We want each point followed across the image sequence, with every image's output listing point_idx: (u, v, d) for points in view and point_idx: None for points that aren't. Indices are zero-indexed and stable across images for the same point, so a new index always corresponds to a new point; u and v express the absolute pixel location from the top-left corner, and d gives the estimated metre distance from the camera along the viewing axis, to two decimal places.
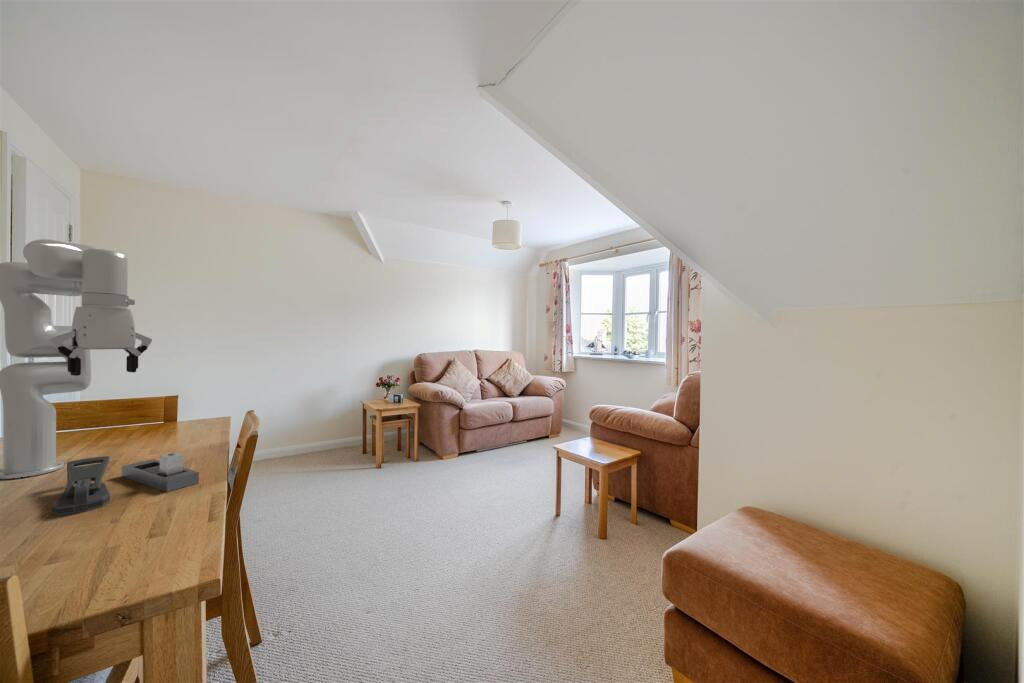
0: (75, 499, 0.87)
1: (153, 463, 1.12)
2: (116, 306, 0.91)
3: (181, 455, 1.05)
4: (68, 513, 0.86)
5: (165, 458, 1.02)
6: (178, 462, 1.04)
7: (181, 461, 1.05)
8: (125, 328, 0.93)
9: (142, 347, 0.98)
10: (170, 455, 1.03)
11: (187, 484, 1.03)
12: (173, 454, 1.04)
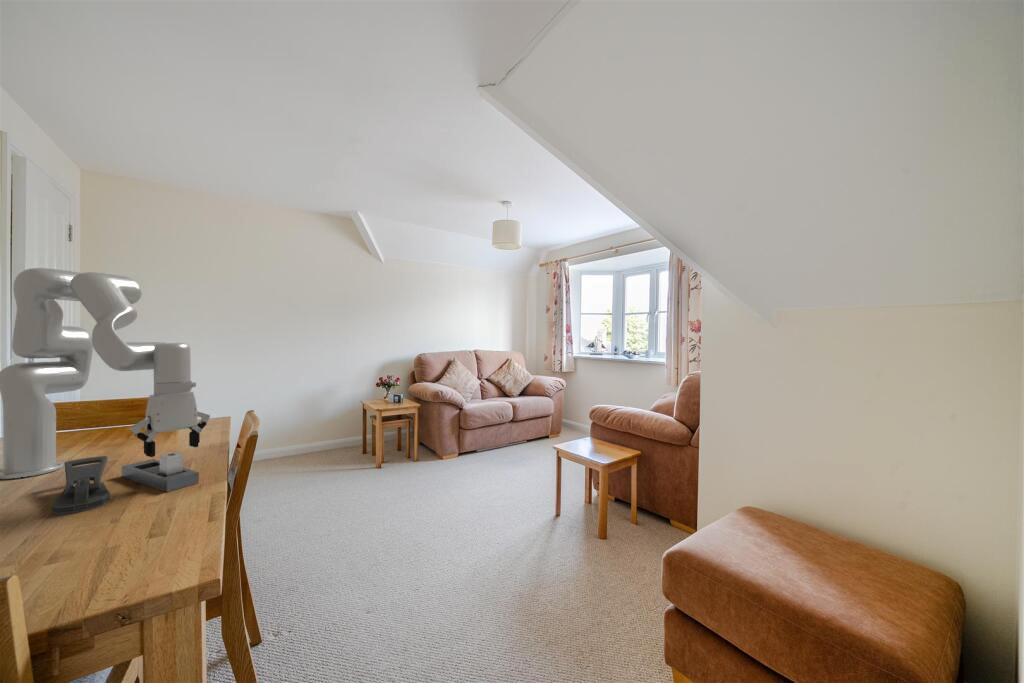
0: (75, 498, 0.87)
1: (153, 463, 1.12)
2: (183, 392, 1.03)
3: (181, 455, 1.05)
4: (68, 512, 0.86)
5: (165, 458, 1.02)
6: (178, 462, 1.04)
7: (181, 461, 1.05)
8: (189, 410, 1.06)
9: (202, 423, 1.10)
10: (170, 455, 1.03)
11: (187, 484, 1.03)
12: (173, 454, 1.04)
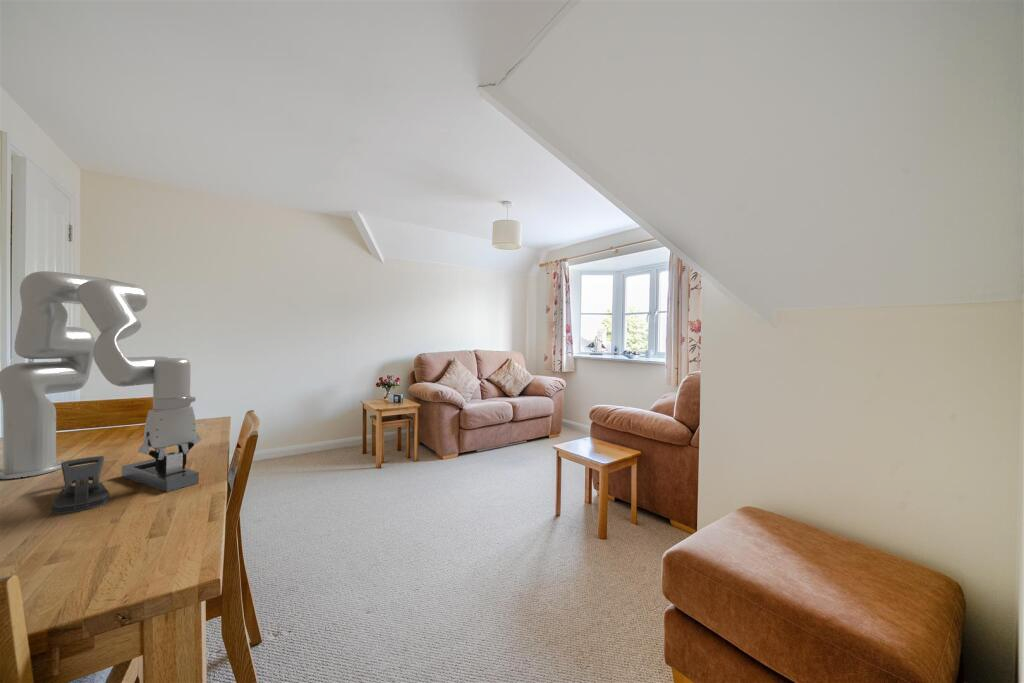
0: (76, 498, 0.87)
1: (153, 463, 1.12)
2: (182, 408, 1.03)
3: (181, 454, 1.05)
4: (69, 512, 0.87)
5: (165, 457, 1.02)
6: (178, 461, 1.04)
7: (181, 460, 1.05)
8: (188, 425, 1.06)
9: (189, 445, 1.07)
10: (170, 454, 1.03)
11: (187, 484, 1.03)
12: (173, 453, 1.04)
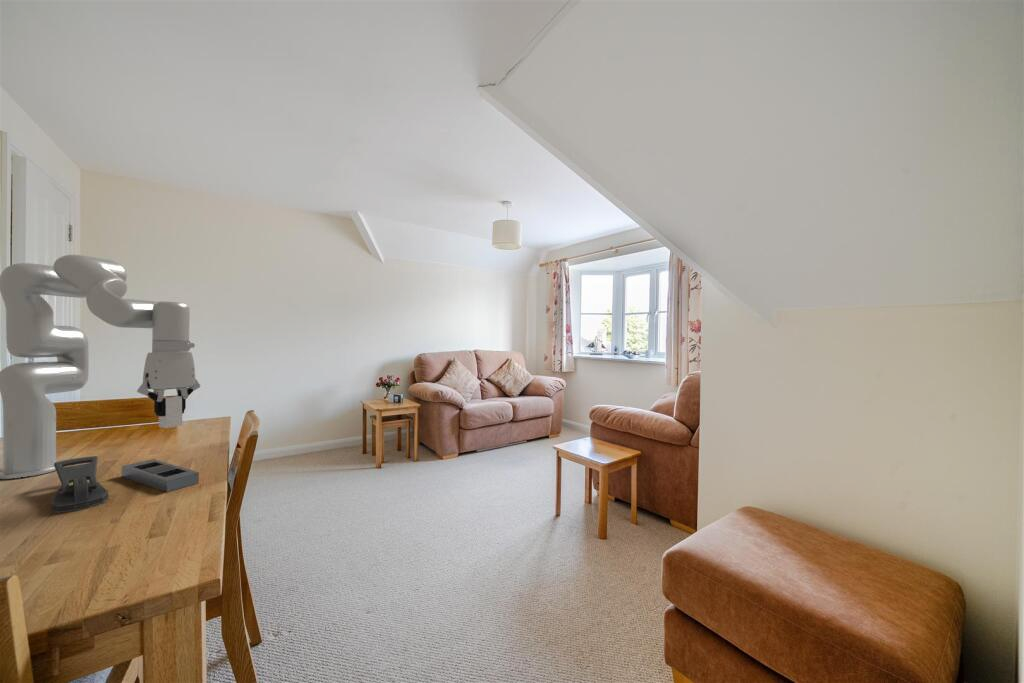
0: (76, 496, 0.88)
1: (153, 463, 1.12)
2: (181, 351, 1.03)
3: (180, 397, 1.05)
4: (69, 510, 0.87)
5: (164, 399, 1.02)
6: (177, 404, 1.04)
7: (180, 403, 1.05)
8: (187, 369, 1.06)
9: (189, 390, 1.08)
10: (169, 397, 1.04)
11: (187, 484, 1.03)
12: (172, 396, 1.04)
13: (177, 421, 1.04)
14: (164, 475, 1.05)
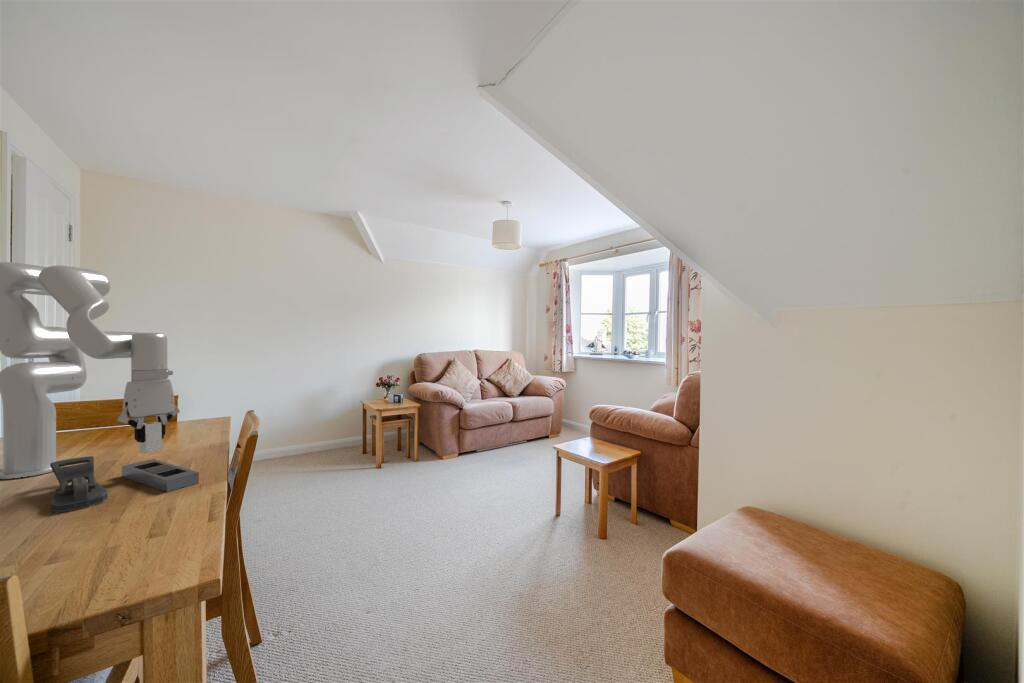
0: (76, 496, 0.88)
1: (153, 463, 1.12)
2: (159, 379, 1.08)
3: (159, 423, 1.10)
4: (69, 510, 0.87)
5: (144, 426, 1.07)
6: (157, 430, 1.09)
7: (160, 429, 1.10)
8: (166, 396, 1.11)
9: (168, 416, 1.12)
10: (149, 423, 1.08)
11: (187, 484, 1.03)
12: (152, 422, 1.09)
13: (157, 446, 1.09)
14: (164, 475, 1.05)
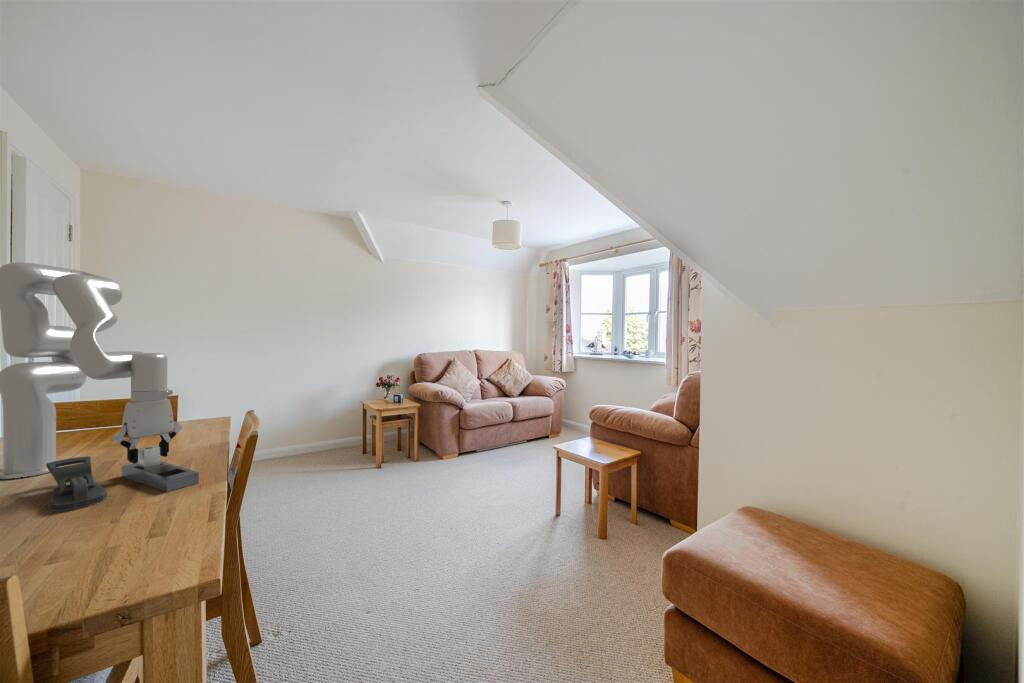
0: (76, 495, 0.89)
1: None
2: (159, 400, 1.08)
3: (158, 448, 1.10)
4: (69, 509, 0.88)
5: (142, 451, 1.07)
6: (155, 455, 1.09)
7: (158, 454, 1.10)
8: (165, 416, 1.11)
9: (172, 433, 1.14)
10: (147, 448, 1.08)
11: (187, 484, 1.03)
12: (150, 447, 1.09)
13: None
14: (164, 475, 1.05)
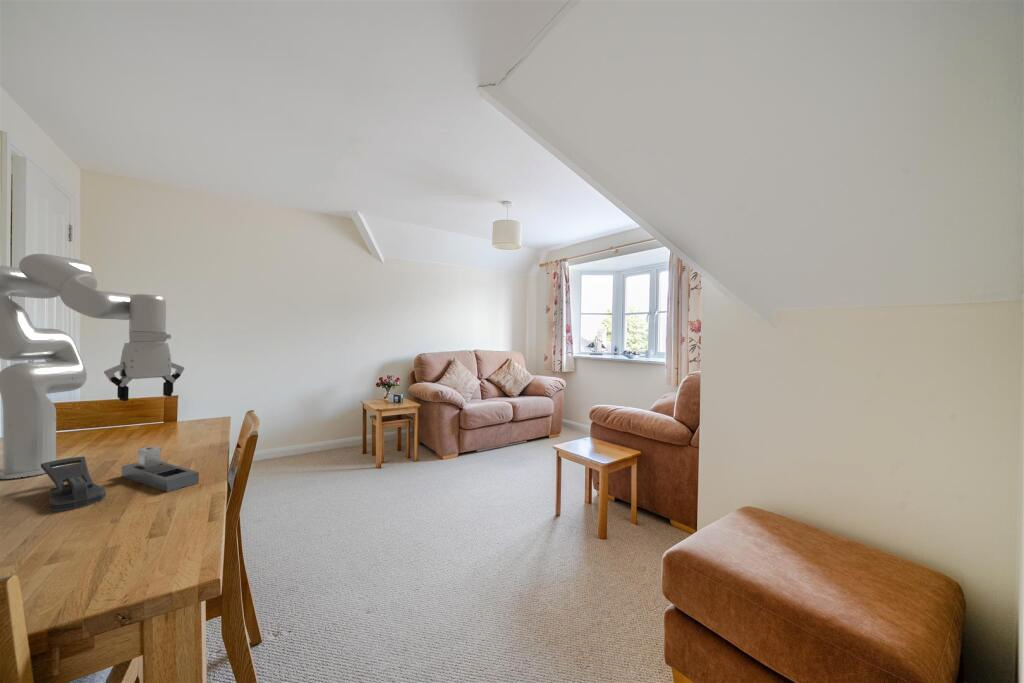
0: (75, 494, 0.89)
1: None
2: (157, 342, 1.08)
3: (159, 449, 1.10)
4: (69, 508, 0.88)
5: (143, 452, 1.07)
6: (156, 456, 1.09)
7: (159, 455, 1.10)
8: (163, 359, 1.10)
9: (176, 374, 1.15)
10: (148, 449, 1.08)
11: (187, 484, 1.03)
12: (151, 448, 1.09)
13: None
14: (164, 475, 1.05)
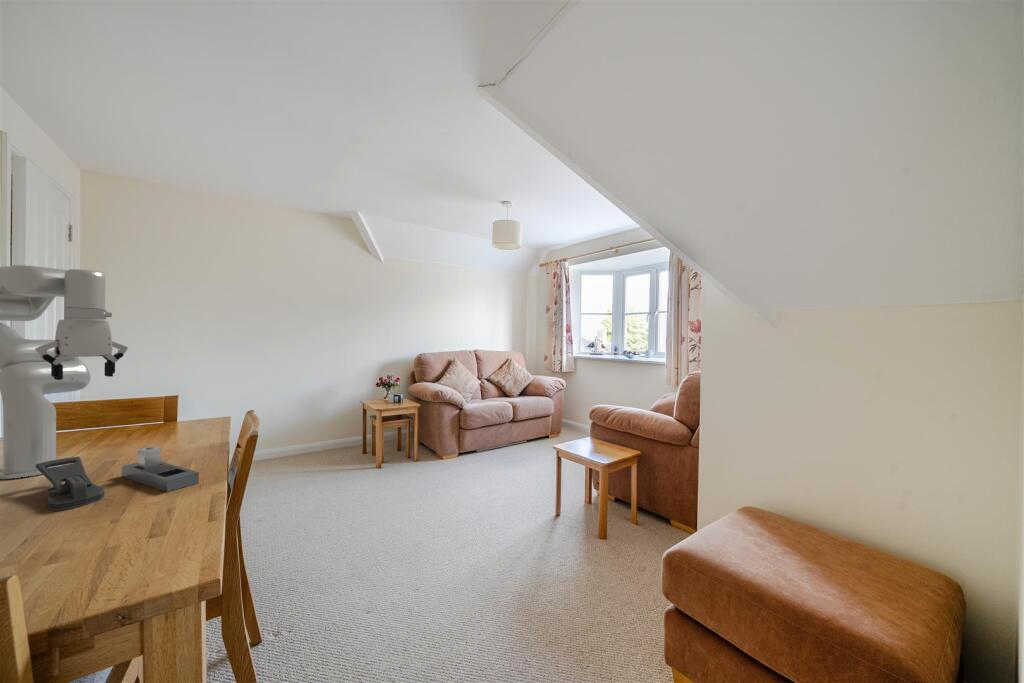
0: (75, 494, 0.89)
1: None
2: (94, 319, 1.04)
3: (159, 449, 1.10)
4: (68, 508, 0.89)
5: (143, 452, 1.07)
6: (156, 456, 1.09)
7: (159, 455, 1.10)
8: (103, 338, 1.06)
9: (118, 354, 1.11)
10: (148, 449, 1.08)
11: (187, 484, 1.03)
12: (151, 448, 1.09)
13: None
14: (164, 475, 1.05)
